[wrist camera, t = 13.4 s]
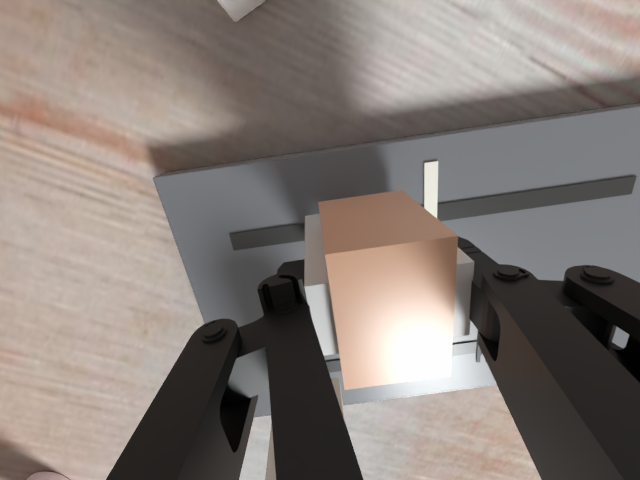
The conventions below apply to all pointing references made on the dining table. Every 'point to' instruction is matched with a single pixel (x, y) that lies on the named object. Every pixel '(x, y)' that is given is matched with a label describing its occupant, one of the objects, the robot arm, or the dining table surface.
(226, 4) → the milk
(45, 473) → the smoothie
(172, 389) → the robot arm
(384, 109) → the dining table surface
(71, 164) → the dining table surface
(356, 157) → the console
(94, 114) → the dining table surface
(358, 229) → the fader
